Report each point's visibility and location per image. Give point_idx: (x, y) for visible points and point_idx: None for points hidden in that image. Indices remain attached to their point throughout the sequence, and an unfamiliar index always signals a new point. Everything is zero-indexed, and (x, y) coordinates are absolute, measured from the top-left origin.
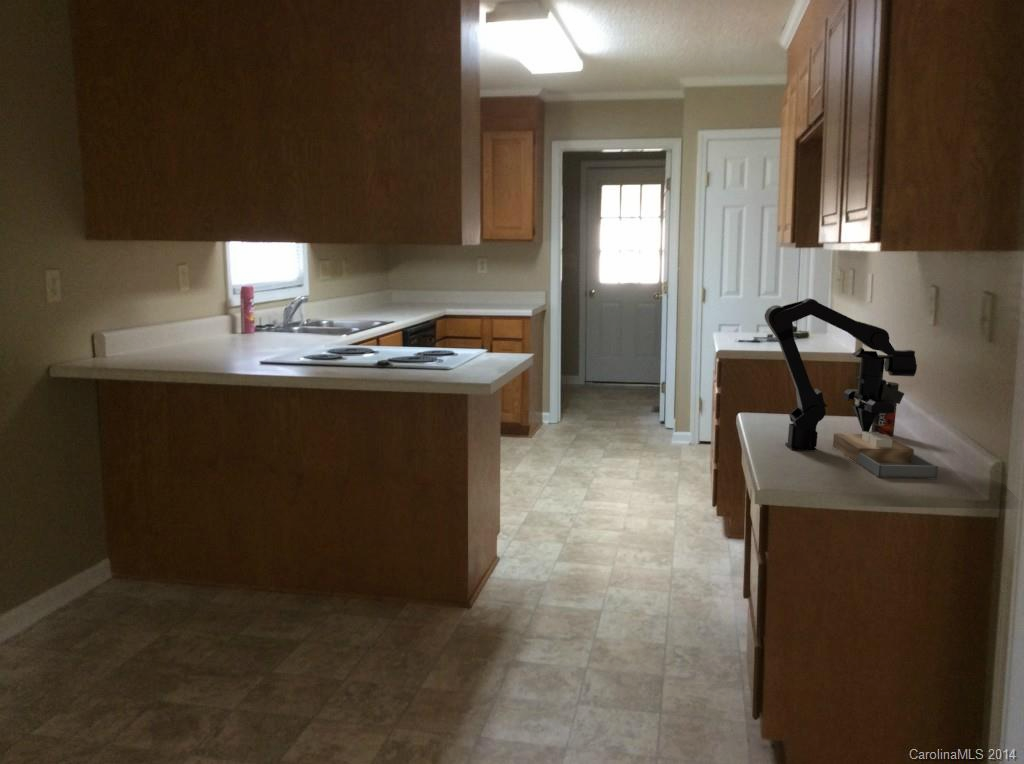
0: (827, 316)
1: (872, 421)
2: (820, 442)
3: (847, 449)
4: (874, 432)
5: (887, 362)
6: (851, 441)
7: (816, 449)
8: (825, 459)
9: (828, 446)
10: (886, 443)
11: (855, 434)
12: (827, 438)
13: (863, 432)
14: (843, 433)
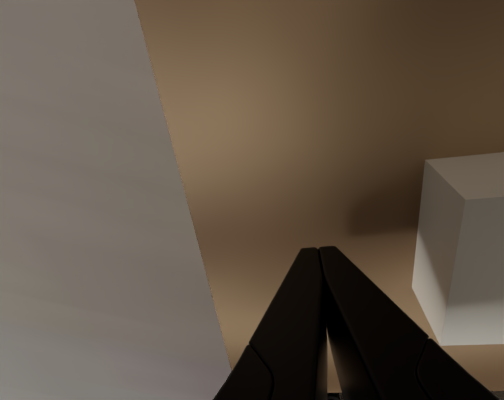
0: None
1: (443, 358)
2: (140, 332)
3: None
4: (495, 247)
5: None
6: (494, 371)
7: (338, 396)
8: (491, 391)
9: (218, 321)
10: None
11: (238, 285)
12: (25, 282)
13: (467, 342)
14: (226, 349)
